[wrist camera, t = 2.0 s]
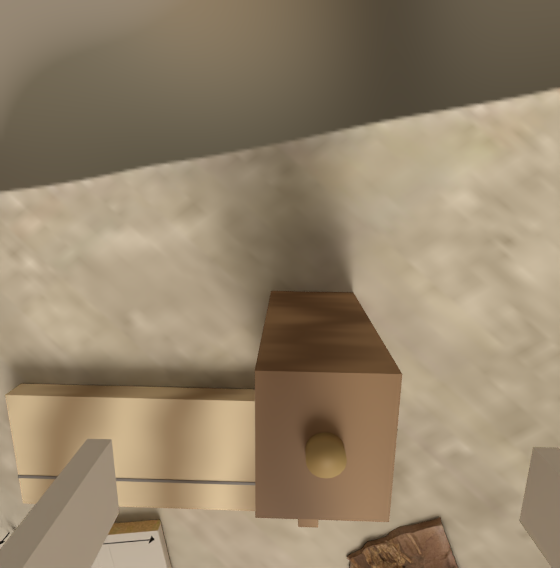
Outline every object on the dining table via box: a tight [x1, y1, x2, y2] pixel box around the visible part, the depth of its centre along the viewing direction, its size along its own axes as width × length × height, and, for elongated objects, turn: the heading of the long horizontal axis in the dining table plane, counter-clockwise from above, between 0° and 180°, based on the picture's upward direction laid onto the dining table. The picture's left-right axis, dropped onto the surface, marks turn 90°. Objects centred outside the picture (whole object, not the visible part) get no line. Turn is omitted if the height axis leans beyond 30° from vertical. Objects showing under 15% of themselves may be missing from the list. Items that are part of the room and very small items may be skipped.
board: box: [5, 384, 255, 511], centre depth 26 cm, size 22×8×2 cm, turn 89°
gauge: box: [255, 291, 402, 527], centre depth 20 cm, size 5×14×12 cm, turn 179°
